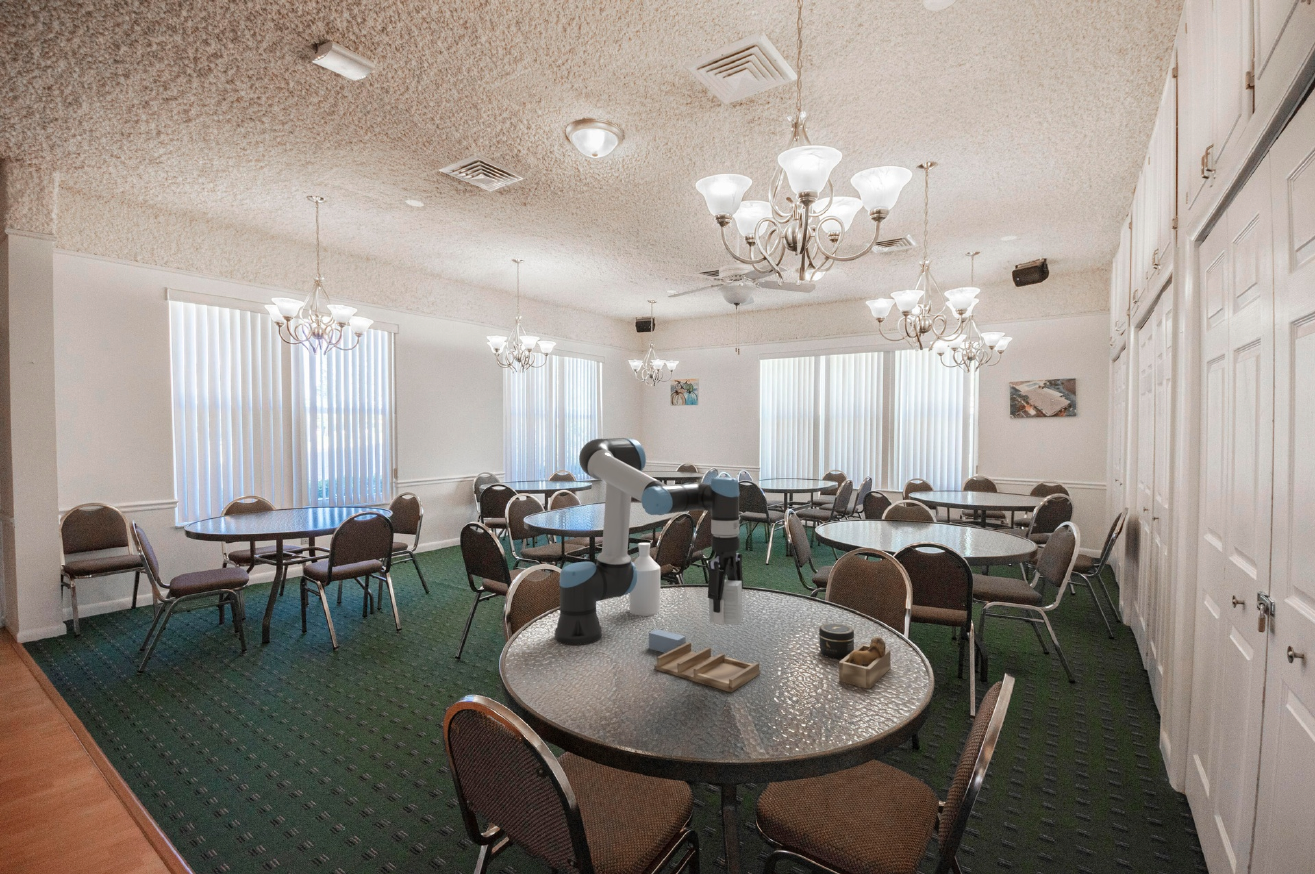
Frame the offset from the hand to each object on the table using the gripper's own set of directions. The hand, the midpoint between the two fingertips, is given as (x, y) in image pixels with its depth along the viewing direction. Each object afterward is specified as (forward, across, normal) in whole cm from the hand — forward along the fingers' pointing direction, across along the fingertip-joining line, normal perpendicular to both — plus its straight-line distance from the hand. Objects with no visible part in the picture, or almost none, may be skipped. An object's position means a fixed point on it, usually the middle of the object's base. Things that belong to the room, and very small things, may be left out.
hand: (726, 620), depth 159 cm
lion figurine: (+15, +24, -29) cm, 41 cm away
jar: (+16, +34, -17) cm, 41 cm away
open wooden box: (+15, +24, -29) cm, 41 cm away
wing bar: (+16, +6, +25) cm, 30 cm away
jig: (+15, 0, +6) cm, 17 cm away
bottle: (+15, +33, +56) cm, 67 cm away
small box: (0, 0, 0) cm, 0 cm away
